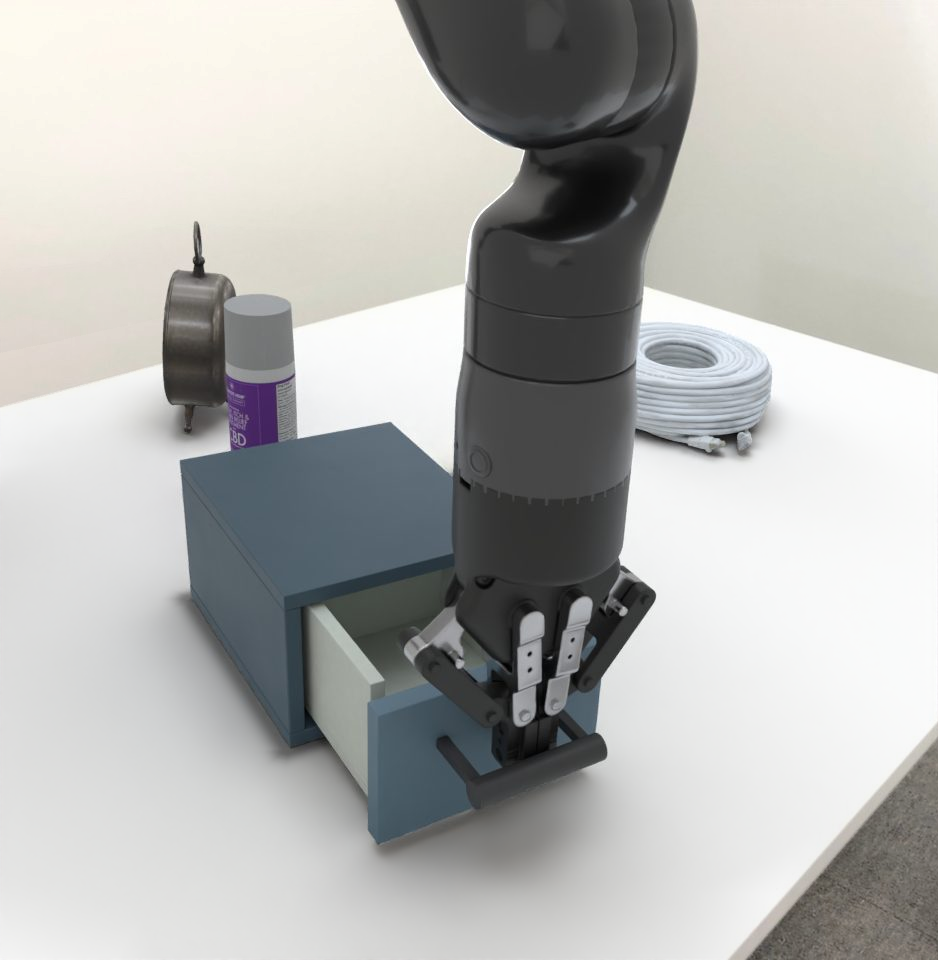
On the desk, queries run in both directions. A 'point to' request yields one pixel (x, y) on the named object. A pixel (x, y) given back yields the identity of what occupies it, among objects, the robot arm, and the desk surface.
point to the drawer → (418, 712)
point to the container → (260, 370)
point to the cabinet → (306, 543)
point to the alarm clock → (195, 336)
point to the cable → (699, 384)
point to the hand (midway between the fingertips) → (522, 767)
